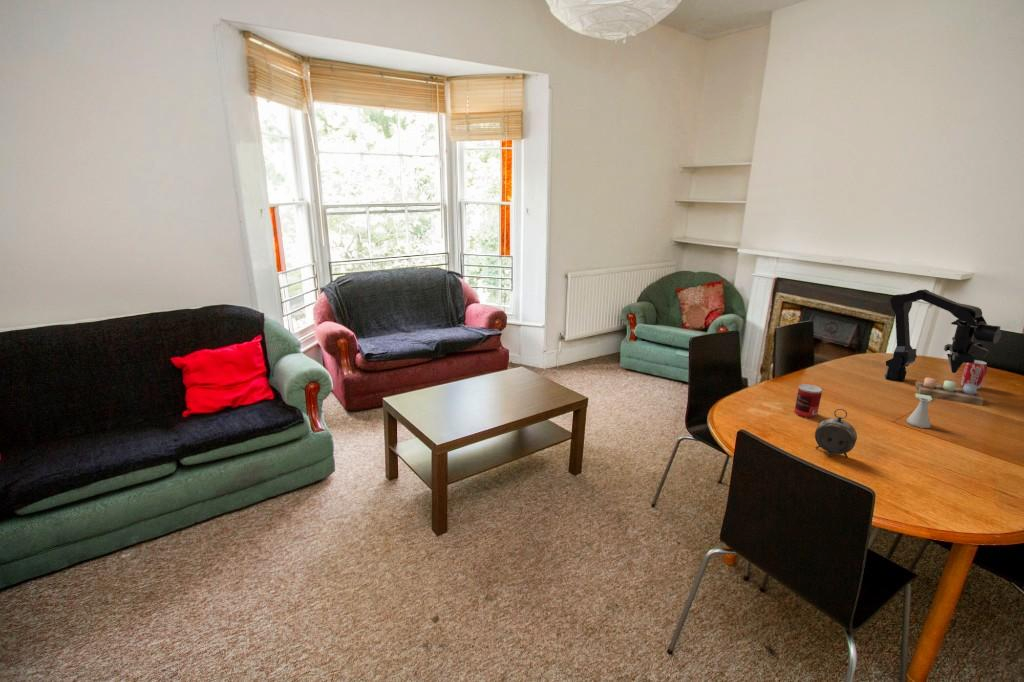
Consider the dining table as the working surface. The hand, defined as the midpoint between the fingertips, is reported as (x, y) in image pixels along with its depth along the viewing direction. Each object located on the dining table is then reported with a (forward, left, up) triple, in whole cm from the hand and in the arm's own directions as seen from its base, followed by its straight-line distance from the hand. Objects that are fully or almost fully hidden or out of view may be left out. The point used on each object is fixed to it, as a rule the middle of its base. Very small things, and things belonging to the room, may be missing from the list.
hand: (953, 372), depth 205 cm
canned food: (-51, -55, -10) cm, 76 cm away
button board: (0, 0, -10) cm, 10 cm away
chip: (-9, -9, -10) cm, 17 cm away
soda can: (+11, +18, -10) cm, 23 cm away
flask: (-15, -42, -10) cm, 46 cm away
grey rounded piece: (+6, 0, -8) cm, 11 cm away
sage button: (0, 0, -8) cm, 8 cm away
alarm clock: (-43, -86, -10) cm, 97 cm away
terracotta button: (-7, 0, -8) cm, 11 cm away
